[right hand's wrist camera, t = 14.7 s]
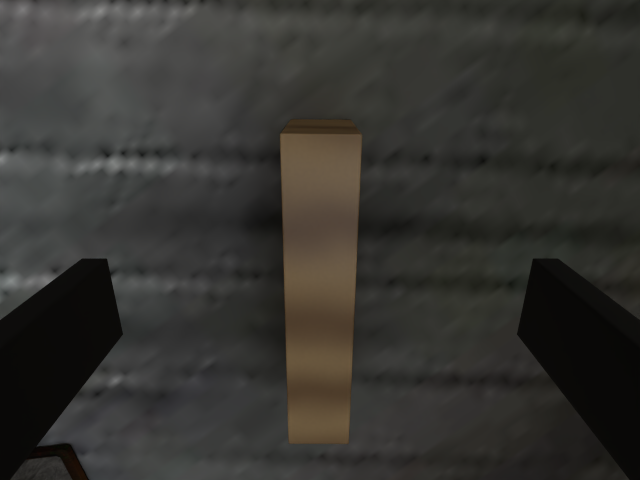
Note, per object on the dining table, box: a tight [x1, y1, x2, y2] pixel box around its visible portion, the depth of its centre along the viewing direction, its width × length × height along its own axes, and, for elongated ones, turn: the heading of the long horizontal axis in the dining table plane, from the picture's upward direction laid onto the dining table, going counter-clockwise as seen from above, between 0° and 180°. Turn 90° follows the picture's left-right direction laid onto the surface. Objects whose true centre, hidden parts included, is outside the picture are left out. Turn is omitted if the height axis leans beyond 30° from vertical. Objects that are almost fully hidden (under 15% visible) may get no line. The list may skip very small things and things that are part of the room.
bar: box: [280, 119, 362, 444], centre depth 32 cm, size 24×5×9 cm, turn 0°
